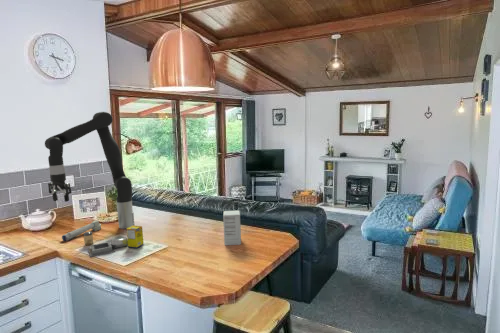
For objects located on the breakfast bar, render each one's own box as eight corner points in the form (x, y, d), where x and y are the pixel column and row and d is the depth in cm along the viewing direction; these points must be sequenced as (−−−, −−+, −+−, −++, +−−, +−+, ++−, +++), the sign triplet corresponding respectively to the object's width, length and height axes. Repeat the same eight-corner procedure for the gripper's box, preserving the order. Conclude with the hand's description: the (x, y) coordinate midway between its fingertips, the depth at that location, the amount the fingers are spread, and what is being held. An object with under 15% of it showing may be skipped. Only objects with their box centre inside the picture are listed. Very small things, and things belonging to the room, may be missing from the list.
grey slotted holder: (125, 242, 191) (124, 234, 190) (129, 248, 180) (128, 241, 180) (88, 249, 181) (87, 241, 181) (90, 257, 171) (89, 248, 170)
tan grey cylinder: (93, 242, 192) (91, 231, 191) (93, 245, 188) (92, 233, 187) (84, 244, 189) (83, 232, 188) (85, 246, 186) (83, 234, 185)
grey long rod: (60, 234, 196) (96, 217, 217) (63, 244, 198) (98, 226, 219) (66, 235, 194) (101, 218, 215) (68, 246, 195) (103, 227, 217)
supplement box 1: (143, 244, 186) (142, 225, 184) (137, 248, 180) (135, 229, 179) (135, 243, 188) (133, 225, 186) (127, 247, 182) (126, 228, 181)
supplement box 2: (241, 244, 181) (240, 214, 179) (224, 245, 181) (223, 215, 178) (240, 238, 191) (239, 209, 188) (224, 239, 190) (223, 210, 188)
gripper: (72, 172, 189) (76, 200, 191) (53, 171, 194) (57, 198, 196) (61, 174, 182) (65, 203, 184) (42, 174, 187) (46, 202, 189)
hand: (61, 201), depth 190 cm, fingers open, 8 cm apart
